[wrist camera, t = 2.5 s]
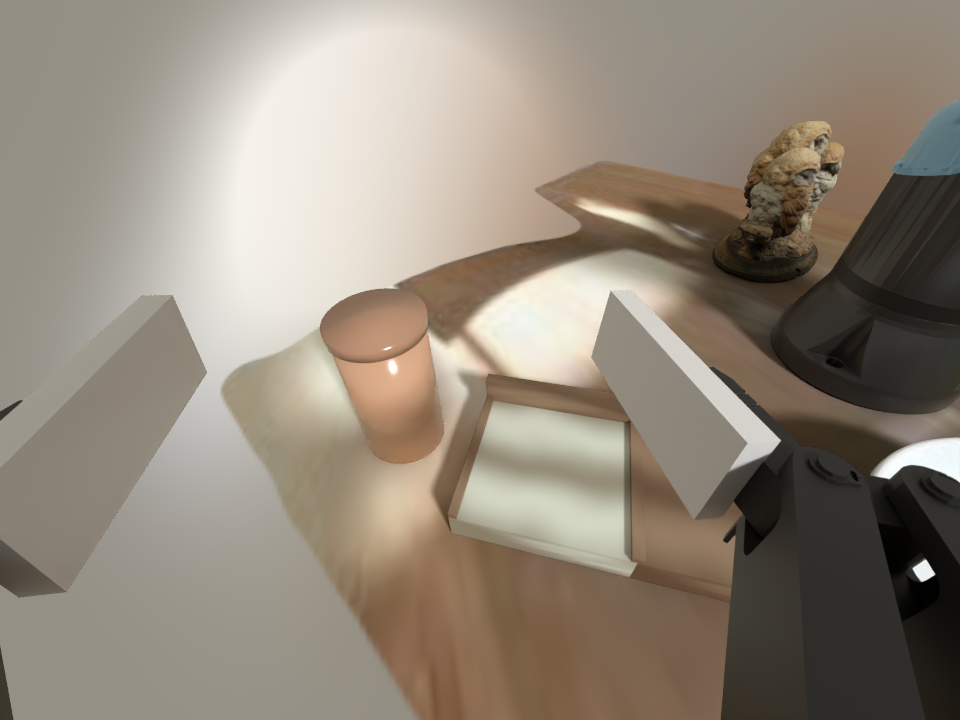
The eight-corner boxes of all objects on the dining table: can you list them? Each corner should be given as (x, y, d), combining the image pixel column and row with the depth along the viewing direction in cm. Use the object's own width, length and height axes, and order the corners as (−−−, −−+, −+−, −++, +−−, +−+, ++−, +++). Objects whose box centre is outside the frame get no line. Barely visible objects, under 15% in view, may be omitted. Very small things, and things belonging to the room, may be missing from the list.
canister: (387, 395, 40) (352, 284, 31) (456, 407, 38) (441, 293, 29) (351, 456, 35) (298, 343, 26) (430, 473, 33) (401, 359, 24)
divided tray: (490, 411, 38) (488, 373, 34) (746, 455, 33) (773, 417, 29) (451, 532, 29) (444, 499, 26) (788, 617, 24) (834, 590, 21)
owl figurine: (786, 300, 48) (870, 148, 37) (691, 268, 55) (738, 131, 44) (828, 247, 57) (908, 110, 46) (742, 225, 64) (792, 101, 52)
